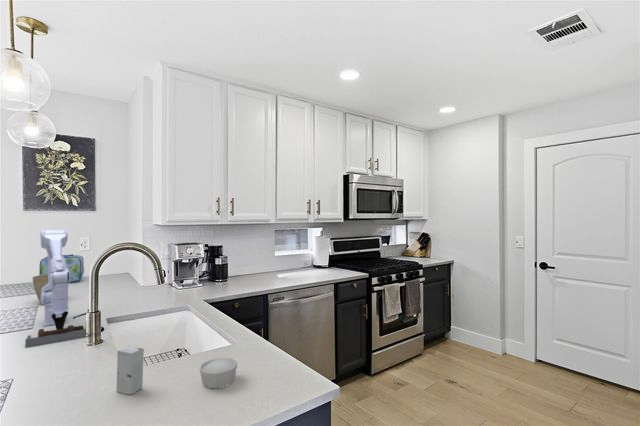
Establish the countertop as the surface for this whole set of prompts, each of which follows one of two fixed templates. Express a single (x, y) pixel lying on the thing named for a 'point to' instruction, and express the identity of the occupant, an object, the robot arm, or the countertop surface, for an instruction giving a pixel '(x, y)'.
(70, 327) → the bolt
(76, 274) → the lunch box
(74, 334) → the bracket
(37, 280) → the plant pot
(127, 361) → the skincare box
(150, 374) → the countertop surface
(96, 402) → the countertop surface
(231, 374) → the ramekin
